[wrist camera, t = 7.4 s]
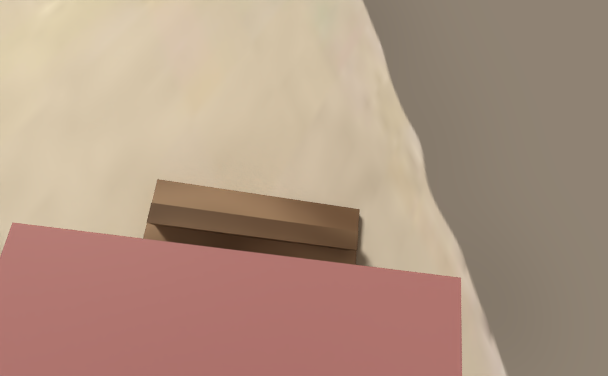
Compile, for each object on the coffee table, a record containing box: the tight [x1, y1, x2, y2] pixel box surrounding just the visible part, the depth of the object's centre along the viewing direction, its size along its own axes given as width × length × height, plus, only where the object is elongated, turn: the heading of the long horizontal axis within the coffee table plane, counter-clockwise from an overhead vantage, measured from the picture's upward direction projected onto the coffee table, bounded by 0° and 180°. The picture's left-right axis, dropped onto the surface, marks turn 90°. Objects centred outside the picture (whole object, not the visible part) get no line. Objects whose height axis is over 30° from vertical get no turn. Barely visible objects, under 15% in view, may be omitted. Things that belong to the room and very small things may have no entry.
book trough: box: [143, 179, 360, 265], centre depth 19 cm, size 12×14×2 cm
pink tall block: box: [0, 223, 462, 376], centre depth 9 cm, size 4×6×12 cm, turn 83°
